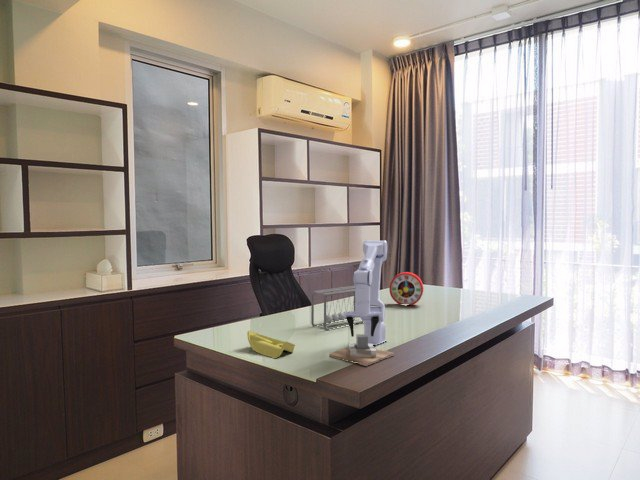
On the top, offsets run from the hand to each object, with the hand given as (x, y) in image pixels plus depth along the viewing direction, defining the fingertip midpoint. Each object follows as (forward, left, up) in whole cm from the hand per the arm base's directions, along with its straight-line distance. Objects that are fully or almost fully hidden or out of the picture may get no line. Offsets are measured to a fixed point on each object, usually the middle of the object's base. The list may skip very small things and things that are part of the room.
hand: (362, 335), depth 177 cm
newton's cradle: (-34, -39, -8) cm, 52 cm away
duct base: (0, 0, -8) cm, 8 cm away
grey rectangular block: (0, 0, -7) cm, 7 cm away
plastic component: (+20, -31, -8) cm, 38 cm away
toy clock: (-100, -42, -8) cm, 109 cm away
